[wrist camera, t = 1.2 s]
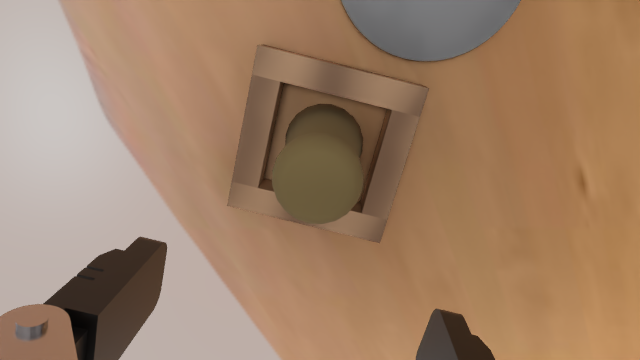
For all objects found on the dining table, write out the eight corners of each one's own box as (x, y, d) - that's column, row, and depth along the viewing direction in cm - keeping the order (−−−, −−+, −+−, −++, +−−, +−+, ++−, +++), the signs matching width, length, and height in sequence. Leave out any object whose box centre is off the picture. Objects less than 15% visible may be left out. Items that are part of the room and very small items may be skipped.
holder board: (422, 85, 31) (428, 88, 29) (377, 230, 35) (379, 243, 33) (263, 44, 31) (257, 44, 29) (234, 195, 35) (227, 205, 32)
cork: (353, 186, 34) (359, 249, 24) (279, 171, 34) (251, 228, 23) (371, 112, 32) (385, 144, 22) (292, 96, 32) (268, 121, 22)
